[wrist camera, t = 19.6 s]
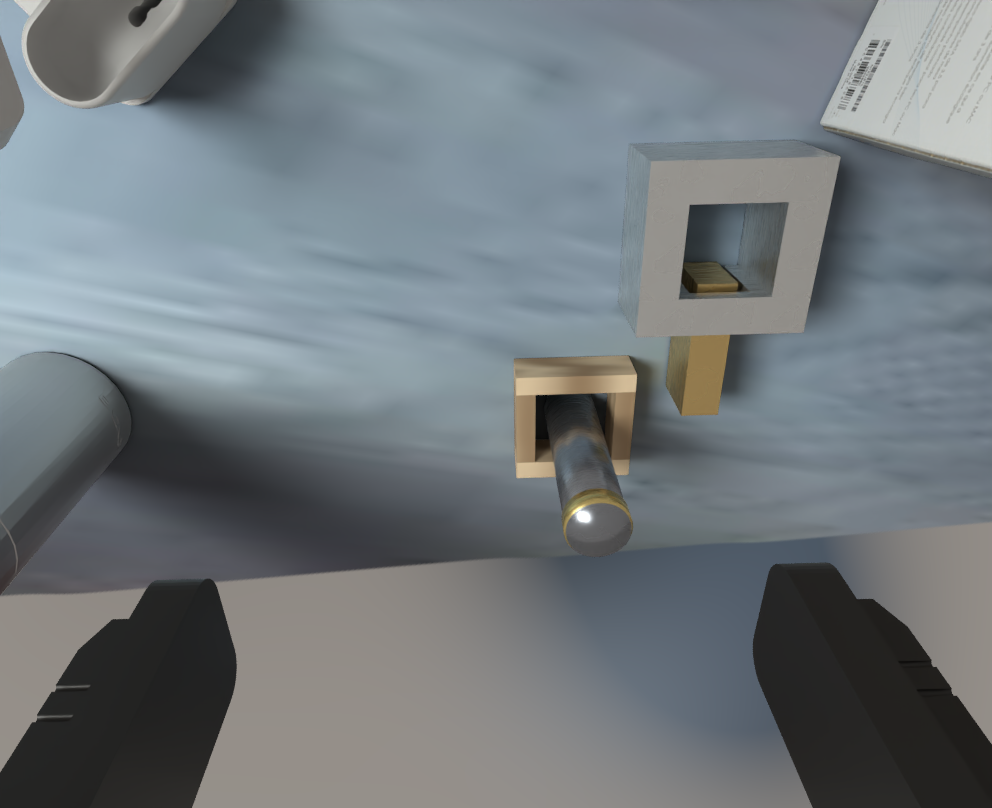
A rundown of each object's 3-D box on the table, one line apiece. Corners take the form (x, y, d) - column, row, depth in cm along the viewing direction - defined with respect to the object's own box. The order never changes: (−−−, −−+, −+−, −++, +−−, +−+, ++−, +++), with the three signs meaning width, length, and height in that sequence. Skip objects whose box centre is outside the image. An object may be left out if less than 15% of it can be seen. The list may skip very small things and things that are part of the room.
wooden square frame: (514, 455, 52) (516, 478, 49) (513, 358, 48) (516, 378, 45) (620, 451, 52) (628, 474, 49) (628, 355, 48) (637, 374, 45)
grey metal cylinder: (542, 430, 51) (563, 559, 39) (543, 384, 49) (565, 504, 37) (593, 428, 51) (630, 557, 39) (596, 383, 49) (636, 502, 37)
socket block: (617, 301, 46) (636, 337, 41) (628, 143, 41) (651, 161, 36) (766, 297, 46) (803, 332, 41) (794, 139, 41) (840, 156, 36)
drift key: (665, 385, 49) (681, 415, 45) (679, 262, 45) (698, 284, 41) (699, 384, 49) (717, 414, 45) (716, 261, 45) (738, 283, 41)
